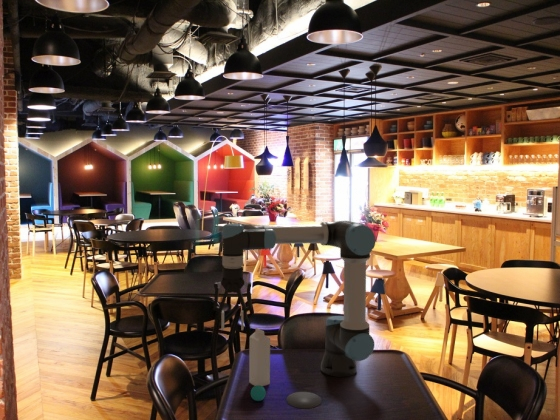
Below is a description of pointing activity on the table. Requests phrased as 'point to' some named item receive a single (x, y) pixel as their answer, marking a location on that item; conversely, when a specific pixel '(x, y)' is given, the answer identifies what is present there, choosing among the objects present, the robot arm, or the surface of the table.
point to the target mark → (303, 400)
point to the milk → (259, 359)
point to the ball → (258, 393)
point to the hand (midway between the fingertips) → (232, 328)
